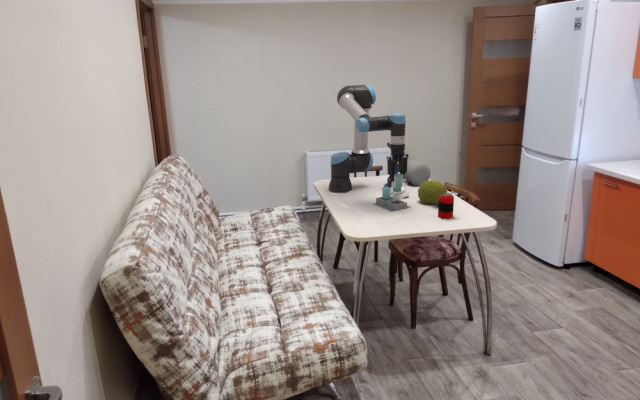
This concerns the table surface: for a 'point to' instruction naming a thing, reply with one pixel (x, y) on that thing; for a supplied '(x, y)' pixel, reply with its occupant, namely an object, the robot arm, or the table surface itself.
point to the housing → (391, 204)
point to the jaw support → (399, 193)
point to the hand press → (389, 182)
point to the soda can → (445, 205)
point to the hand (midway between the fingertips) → (397, 186)
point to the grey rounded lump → (417, 172)
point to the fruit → (431, 192)
